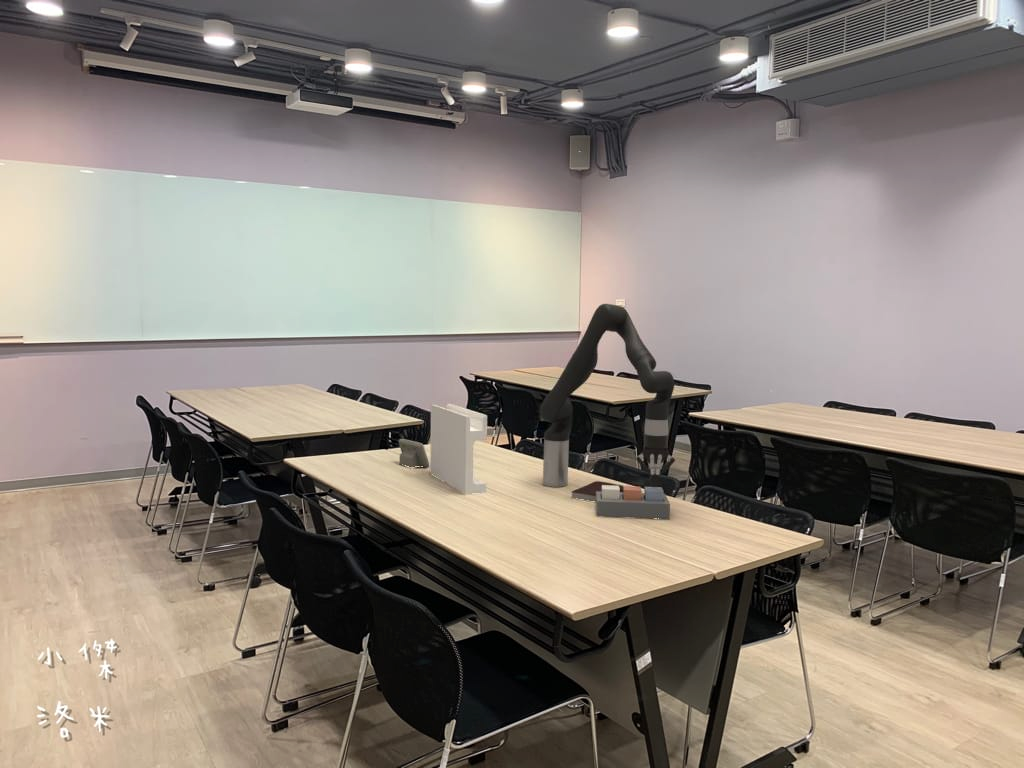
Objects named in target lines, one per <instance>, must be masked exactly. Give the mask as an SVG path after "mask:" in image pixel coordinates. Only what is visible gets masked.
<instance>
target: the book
mask: <svg viewBox="0 0 1024 768" xmlns="http://www.w3.org/2000/svg"><path fill="white" fill-rule="evenodd" d="M602 485H612V486H619V489H620V492H623V486H624V485H621V484H616V483H611V482H606V481H599V480H598V481H597V480H596V481H593V482H591V483H588V484H586V485H583V486H581V487H578V488H576V489H574V490H572V491H571V492H570V493H571V497H573V498H578V499H577V500H579V499H584V500H583V501H585V500H589V501H588V502H590V501H595V502H594V503H596V491H599V492H602ZM573 498H572V499H573Z"/></svg>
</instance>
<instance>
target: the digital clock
mask: <svg viewBox="0 0 1024 768" xmlns="http://www.w3.org/2000/svg"><path fill="white" fill-rule="evenodd" d="M398 445H399V447H400V452H401V453H400V454H399V465H400V464H403V465H406V466H409V467H415V466H423V467H422V468H425V467H427V468H428V467H430V461H429V458H428V456H427V452H426V449H425V445H424V444H423V443H421V442H419V441H413V440H410V439H405V438H399V439H398Z"/></svg>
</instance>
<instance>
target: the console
mask: <svg viewBox="0 0 1024 768" xmlns="http://www.w3.org/2000/svg"><path fill="white" fill-rule="evenodd" d="M601 495H602V492H599V491H596V502H595V512H596V513H595V514H596V515H597V516H603V517H602V518H619V517H635V518H634V519H642V518H657V519H656V520H666V519H670V517H671V503H670V500H669V499H668V497H667V494H666V493H664V497H663V501H645V500H644V492H642V496H641V500H623V492H620V498H619V500H618V499H601ZM597 516H596V517H597ZM658 518H659V519H658Z"/></svg>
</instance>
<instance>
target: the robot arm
mask: <svg viewBox="0 0 1024 768" xmlns="http://www.w3.org/2000/svg"><path fill="white" fill-rule="evenodd" d="M588 323H589V324H588V326H587V328H586V330H585V332H584V334H583V336H582V338H581V339H580V342H579V344H578V346H577V347H576V350H575V351H574V352H573V353H572V355H571V358H570V359H569V360H568V362H567V364H566V366H565V368H564V370H563V371H562V373H560V376H559V378H558V380H557V381H556V383H555V384H554V386H553V387H552V389H551V390H550V391H549V392H548V394H547V396H546V397H545V398H544V399H543V401H542V403H541V405H540V411H539V413H540V417H541V419H542V420H543V421H545V422H547V423H551V426H550V427H549V428H547V429H546V430H545V432H544V435H543V437H544V438H543V439H544V441H543V445H544V446H543V467H542V486H545V485H546V486H547V487H551V486H552V487H551V488H553V487H554V488H562V487H561V486H563V487H566V485H567V486H568V484H569V451H570V450H569V447H570V445H569V443H570V434H571V433H572V432H571V431H572V425H573V424H572V423H573V405H572V402H571V401H570V398H569V397H570V396H572V394H573V393H574V392H575V391H577V390H578V389H579V388H580V387H582V385H584V384H585V382H587V381H588V380H589V378H590V377H591V375H592V373H593V372H594V370H595V368H596V366H597V365H598V359H599V357H598V355H599V354H598V350H599V349H598V347H599V343H600V341H601V339H602V338H603V336H604V334H605V333H606V332H613V333H617V335H619V336H620V338H621V339H622V340H623V342H624V347H625V349H624V350H625V354H626V357H627V359H628V361H629V362H630V364H631V365H632V366H633V368H634V369H635V370H636V372H637V377H638V380H639V382H640V383H639V384H640V387H641V388H642V389H643V391H645V392H646V393H648V394H655V397H654V398H653V399H651V400H648V401H647V402H646V404H645V405H646V406H645V421H644V429H643V430H644V434H643V437H644V438H643V449H642V452H641V453H640V454H638V455H637V456H635V460H636V461H637V462H638V464H639V465H640V467H641V468H642V469H643V471H644V472H645V473H648V474H649V483H650V485H651V487H658V485H659V484H660V475H661V474H664V473H666V472H667V470H669V468H671V466H672V465H673V464H674V463H675V461H676V459H675V457H673V456H672V455H670V452H669V450H668V448H669V447H668V445H669V444H668V442H669V421H668V420H669V418H668V417H669V405H670V402H671V400H672V396H673V393H674V389H675V380H674V377H673V376H674V375H673V374H672V373H671V372H669V371H666V370H658V371H657V370H655V369H656V367H657V361H656V359H655V358H654V356H653V355H652V353H651V352H650V351H649V349H648V348H647V347H646V345H645V344H644V342H643V340H642V339H641V337H640V335H639V332H638V330H637V328H636V327H635V325H634V323H633V321H632V318H631V316H630V314H629V312H628V310H627V309H625V307H623V306H621V305H617V304H611V303H602V304H600V305H599V306H598V307H597V308H596V309H595V311H594V313H593V314H592V316H591V318H590V321H589V322H588ZM654 370H655V371H654ZM644 458H645V459H644ZM644 460H646V462H647V463H648V464H649V467H648V466H647V465H646V464H645V462H644ZM665 460H666V463H665V464H664V465H663V466H661V465H662V464H663V463H664V462H665Z"/></svg>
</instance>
